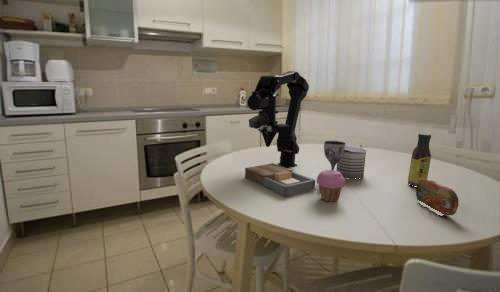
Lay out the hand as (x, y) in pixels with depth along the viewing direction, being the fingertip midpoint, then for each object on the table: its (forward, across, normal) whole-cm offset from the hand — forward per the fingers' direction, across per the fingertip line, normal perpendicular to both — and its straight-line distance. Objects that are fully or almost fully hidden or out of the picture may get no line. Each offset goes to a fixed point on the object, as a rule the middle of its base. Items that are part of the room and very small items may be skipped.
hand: (267, 146), depth 120 cm
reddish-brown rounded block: (+12, +56, +20) cm, 61 cm away
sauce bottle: (+12, +42, +38) cm, 58 cm away
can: (+12, +20, +28) cm, 36 cm away
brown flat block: (+12, +5, -4) cm, 13 cm away
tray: (+11, +17, -4) cm, 21 cm away
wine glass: (+12, +20, +17) cm, 29 cm away
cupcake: (+12, +32, -1) cm, 35 cm away
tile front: (+8, +18, -5) cm, 20 cm away
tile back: (+9, +13, -4) cm, 16 cm away
